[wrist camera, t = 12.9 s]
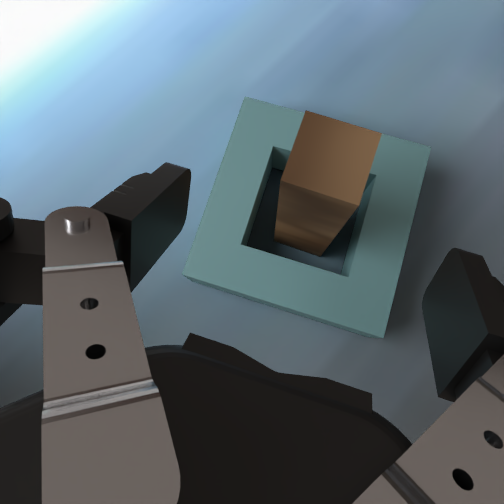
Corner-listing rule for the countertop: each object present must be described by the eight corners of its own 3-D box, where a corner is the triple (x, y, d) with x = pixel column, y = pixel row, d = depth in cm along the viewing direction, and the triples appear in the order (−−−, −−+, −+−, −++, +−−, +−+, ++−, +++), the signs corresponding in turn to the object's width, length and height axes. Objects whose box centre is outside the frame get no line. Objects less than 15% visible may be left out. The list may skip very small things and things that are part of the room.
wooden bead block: (411, 168, 25) (431, 147, 22) (367, 337, 23) (383, 338, 20) (247, 123, 26) (244, 96, 23) (191, 281, 24) (181, 274, 21)
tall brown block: (334, 212, 25) (381, 133, 15) (320, 256, 24) (359, 205, 14) (289, 197, 25) (305, 110, 15) (273, 241, 24) (280, 180, 14)
